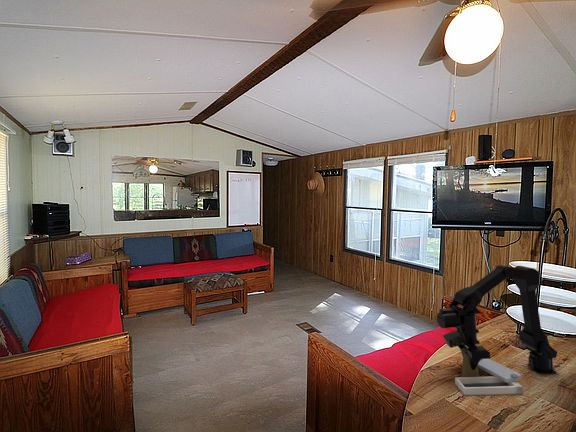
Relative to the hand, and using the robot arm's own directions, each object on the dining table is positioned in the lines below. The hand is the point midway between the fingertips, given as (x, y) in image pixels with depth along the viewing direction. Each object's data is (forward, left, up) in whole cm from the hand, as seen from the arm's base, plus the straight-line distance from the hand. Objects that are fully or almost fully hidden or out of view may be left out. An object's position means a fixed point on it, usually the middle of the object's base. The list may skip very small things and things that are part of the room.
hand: (469, 366), depth 119 cm
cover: (-8, 0, -1) cm, 8 cm away
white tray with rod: (-2, +8, -4) cm, 9 cm away
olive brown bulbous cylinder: (0, 0, -4) cm, 4 cm away
